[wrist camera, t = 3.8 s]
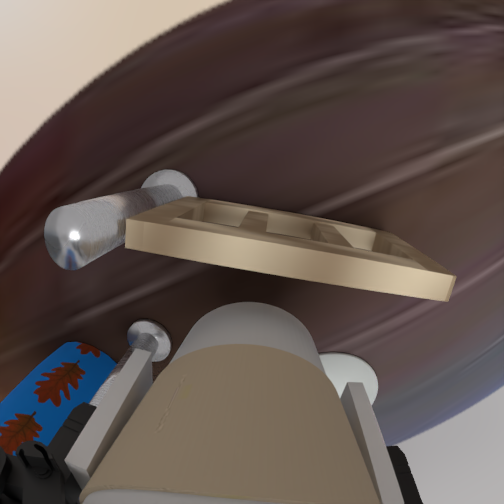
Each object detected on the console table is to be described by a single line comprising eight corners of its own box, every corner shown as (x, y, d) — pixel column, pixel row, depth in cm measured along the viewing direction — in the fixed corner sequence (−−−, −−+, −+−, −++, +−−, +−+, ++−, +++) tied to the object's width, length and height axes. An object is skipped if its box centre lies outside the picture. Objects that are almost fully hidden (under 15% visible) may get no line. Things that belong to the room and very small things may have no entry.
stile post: (130, 351, 25) (78, 425, 15) (129, 314, 24) (66, 384, 14) (171, 362, 25) (130, 445, 15) (172, 324, 24) (123, 406, 14)
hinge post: (139, 225, 22) (32, 281, 10) (145, 166, 21) (28, 175, 9) (195, 234, 22) (115, 306, 10) (202, 173, 20) (118, 183, 9)
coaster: (260, 424, 26) (260, 427, 26) (282, 345, 24) (282, 347, 23) (355, 431, 26) (355, 434, 26) (392, 356, 23) (394, 359, 23)
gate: (185, 213, 20) (125, 247, 12) (187, 196, 20) (126, 218, 11) (385, 248, 20) (447, 301, 11) (389, 232, 20) (456, 276, 11)
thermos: (52, 323, 25) (-106, 477, 1) (142, 365, 25) (13, 595, 1) (59, 392, 28) (-44, 530, 4) (135, 430, 28) (56, 602, 4)
